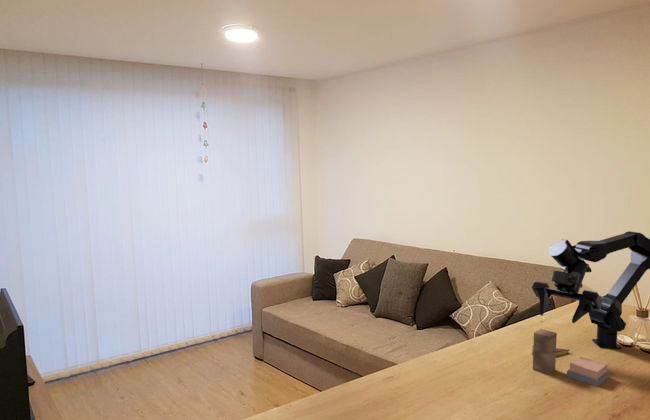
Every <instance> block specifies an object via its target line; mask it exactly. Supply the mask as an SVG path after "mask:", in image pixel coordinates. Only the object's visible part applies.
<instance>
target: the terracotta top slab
mask: <svg viewBox="0 0 650 420" xmlns="http://www.w3.org/2000/svg"><path fill="white" fill-rule="evenodd" d="M569 369H570V371H571V372H574V373H577V374H580V375H583V376H586V377H590V378H593V379H596V380H597V379H599V378H600V377H601V376H602V375H604V374H605V373H606V372H607V371H608V364H607V363H603V362H600V361H597V360H594V359H593V360H592V359H590V358H586V357H583V356H579V357H577V358H576V359H575V360H573V361H572V362H570V363H569Z"/></svg>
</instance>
